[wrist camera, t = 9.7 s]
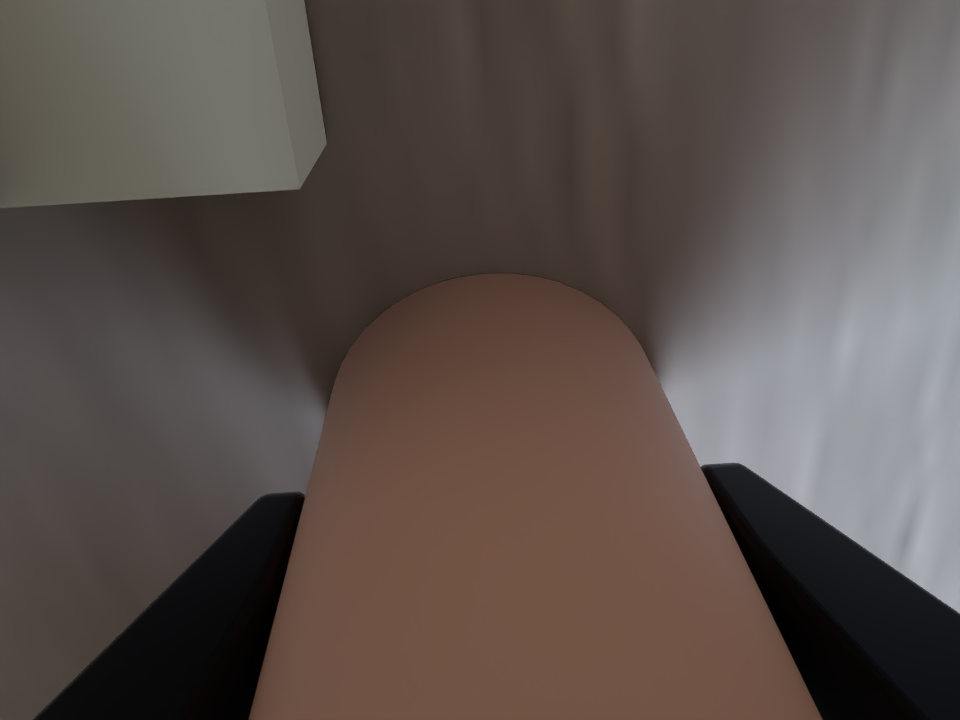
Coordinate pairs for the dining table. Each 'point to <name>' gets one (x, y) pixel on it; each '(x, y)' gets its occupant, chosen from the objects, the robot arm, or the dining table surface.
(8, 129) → the board
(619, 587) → the tan brown cylinder
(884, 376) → the dining table surface
